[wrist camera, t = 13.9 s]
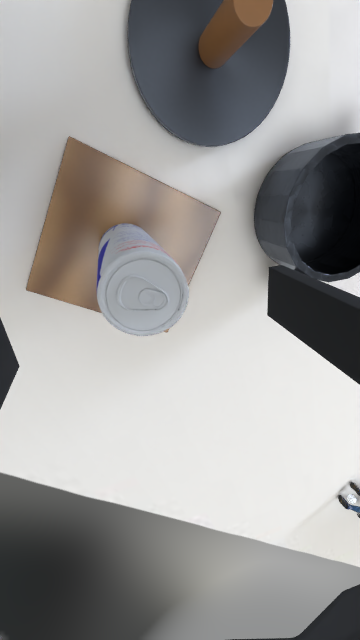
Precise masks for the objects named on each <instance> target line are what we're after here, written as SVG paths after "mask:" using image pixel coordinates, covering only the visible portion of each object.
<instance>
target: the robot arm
mask: <svg viewBox="0 0 360 640" xmlns="http://www.w3.org/2000/svg"><path fill="white" fill-rule="evenodd" d="M267 315H268V316H269V317H271V318H272V319H273V320H275V321H276V322H277V323H279V324H280V325H281V326H283V327H284V328H285V329H287V330H288V331H289V332H291V333H292V334H293V335H294V336H296V337H297V338H298V339H300V340H301V341H302V342H304V343H305V344H306V345H308V346H309V347H310V348H312V349H313V350H314V351H316V352H317V353H318V354H320V355H321V356H322V357H324V358H325V359H326V360H328V361H329V362H330V363H332V364H333V365H334V366H336V367H337V368H338V369H340V370H341V371H342V372H344V373H345V374H346V375H348V376H349V377H350V378H352V379H353V380H354V381H356V382H357V383H358V384H360V297H357V296H355V295H352V294H350V293H348V292H345V291H343V290H341V289H338V288H336V287H333V286H331V285H329V284H326V283H324V282H321V281H319V280H317V279H314V278H312V277H310V276H307V275H305V274H302V273H300V272H298V271H295V270H293V269H290V268H288V267H286V266H283V265H279V266H274V267H269V280H268V313H267ZM18 368H19V364H18V361H17V359H16V356H15V354H14V351H13V349H12V346H11V344H10V341H9V339H8V336H7V334H6V331H5V328H4V326H3V323H2V321H1V318H0V409H1V407H2V404H3V402H4V400H5V398H6V395H7V393H8V391H9V389H10V386H11V384H12V382H13V380H14V377H15V375H16V373H17V371H18ZM0 640H3V639H2V637H1V635H0ZM232 640H234V639H232ZM235 640H360V585H357V586H355V587H352V588H350V589H347V590H345V591H343V592H342V593H341V594H340V595H339V596H338V597H337V598H336V599H335V600H334V601H333V602H332V603H331V604H330V605H329V606H328V607H327V608H326V609H325V610H324V611H323V612H322V613H321V614H320V615H319V616H318V617H317V618H316V619H315V620H314V621H313V622H312V623H311V624H310V625H309V626H308V627H307V628H306V629H305V630H304V631H303V632H302V633H301V634H300V635H298V636H296V637H294V638H280V639H279V638H278V639H235Z"/></svg>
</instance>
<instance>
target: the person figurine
mask: <svg viewBox="0 0 360 640" xmlns="http://www.w3.org/2000/svg"><path fill="white" fill-rule="evenodd" d="M350 486H351V488H352V489H353V490H355V491H356V493H357V494H358V495H359V496H360V489H359V488H358V486H357V485H356V484H355V483H350ZM338 499H339V502H340V503H341V504H342V505H343V506H344V507H345V508H346V509H351V510H353V511H356V512H358V514H359V513H360V507H358V506H353V505H350V504H348V502H347V501H346V500H345V499H344V498H343V497H342V496H341V495H339V496H338ZM347 500H348V501H349V502H350V503H352V504H354V503H356V497H355V496H354V495H352V494H349V495H348V496H347ZM358 514H357V515H358ZM359 516H360V514H359ZM359 516H358V517H359ZM359 518H360V517H359Z"/></svg>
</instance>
